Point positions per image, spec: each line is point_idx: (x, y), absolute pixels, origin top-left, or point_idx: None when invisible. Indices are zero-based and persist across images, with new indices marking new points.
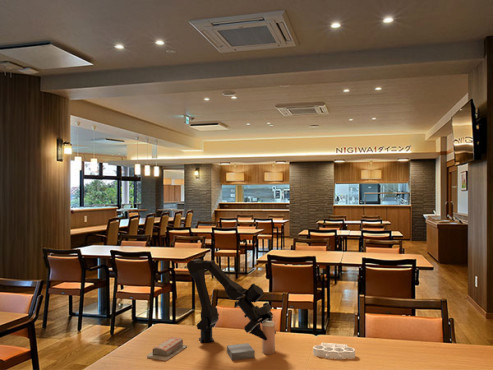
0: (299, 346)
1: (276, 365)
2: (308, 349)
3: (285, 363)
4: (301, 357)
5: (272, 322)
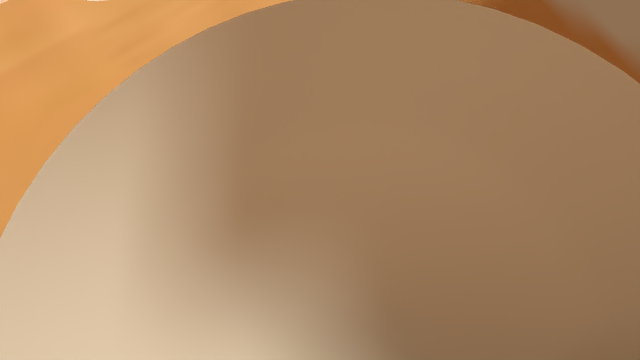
0: (13, 178)
1: (605, 36)
2: (55, 71)
3: None
4: (273, 4)
5: (183, 160)
